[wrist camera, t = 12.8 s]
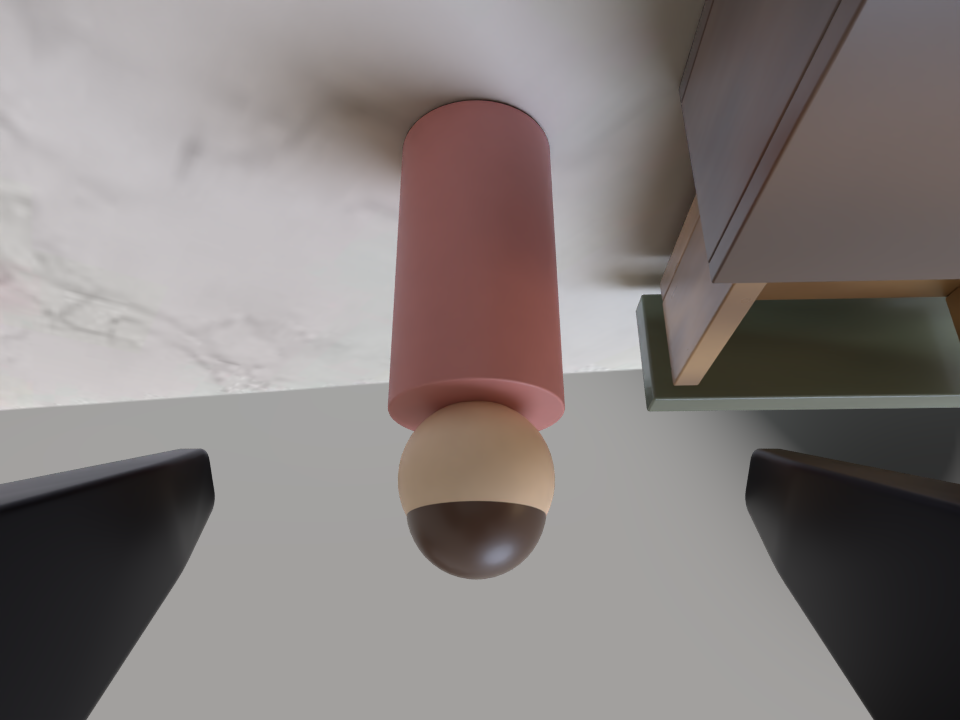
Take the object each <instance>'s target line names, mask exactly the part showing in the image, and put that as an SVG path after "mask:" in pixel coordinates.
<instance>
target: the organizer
mask: <svg viewBox="0 0 960 720" xmlns="http://www.w3.org/2000/svg"><path fill="white" fill-rule="evenodd" d="M679 93H680V99H681V103H682V105H681V106H682V112H683V118H684V124H685V130H686V136H687V142H688V147H689V153H690V159H691V165H692V171H693V177H694V183H695V189H696V195H697V201H698V207H699V213H700V219H701V224H702V230H703V236H704V242H705V248H706V254H707V260H708V263H709V271H710V277H711V282H712V283H713V284H722V283H777V282H832V281H887V280H942V279H960V0H706V1H705V5H704V8H703V11H702V15H701V18H700V21H699V24H698V28H697V31H696V34H695V38H694V41H693V44H692V48H691V51H690V54H689V58H688V61H687V64H686V68H685V71H684V74H683V78H682V81H681V84H680V87H679Z"/></svg>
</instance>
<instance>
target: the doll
mask: <svg viewBox="0 0 960 720" xmlns="http://www.w3.org/2000/svg"><path fill="white" fill-rule="evenodd" d="M564 410H565V404H564V387H563V369H562V352H561V335H560V318H559V301H558V284H557V267H556V250H555V233H554V216H553V199H552V182H551V165H550V149H549V143H548V139H547V137H546V135H545V133H544V131H543V130H542V129H541V127H540V126H539V125H538V124H537V123H536V122H535V121H534V120H533V119H532V118H531V117H529V116H528V115H527V114H525V113H523V112H522V111H520V110H518V109H516V108H513V107H511V106H508V105H505V104H502V103H497V102H492V101H482V100H469V101H460V102H455V103H451V104H447V105H444V106H441V107H439V108H437V109H434V110H432V111H430V112H429V113H427V114H426V115H424V116H423V117H422V118H420V119H419V120H418V121H417V122H416V123H415V124H414V125H413V126H412V128H411V129H410V131H409V132H408V134H407V136H406V138H405V141H404V145H403V155H402V172H401V189H400V207H399V224H398V241H397V259H396V276H395V293H394V311H393V328H392V345H391V363H390V380H389V398H388V411H389V414H390V416H391V417H392V419H393V420H395V421H396V422H397V423H398V424H400V425H402V426H403V427H405V428H408V429H410V430H413V431H414V433H413V434H412V435H411V437H410V439H409V440H408V442H407V444H406V446H405V448H404V451H403V453H402V456H401V460H400V464H399V472H398V489H399V495H400V500H401V503H402V507H403V509H404V511H405V514H406V516H407V521H408V526H409V529H410V533H411V535H412V537H413V539H414V541H415V543H416V545H417V546H418V548H419V550H420V551H421V552H422V553H423V555H424V556H425V557H426V558H427V559H428V560H429V561H430V562H431V563H432V564H434V565H435V566H437V567H438V568H439V569H441V570H443V571H445V572H447V573H449V574H451V575H454V576H457V577H461V578H466V579H486V578H492V577H496V576H499V575H502V574H504V573H506V572H508V571H510V570H512V569H513V568H515V567H516V566H518V565H519V564H520V563H521V562H522V561H524V560H525V559H526V558H527V557H528V556H529V554H530V553H531V552H532V551H533V549H534V548H535V546H536V544H537V543H538V541H539V539H540V536H541V534H542V532H543V528H544V525H545V520H546V515H547V513H548V511H549V508H550V506H551V502H552V499H553V494H554V487H555V474H554V466H553V461H552V457H551V454H550V451H549V449H548V446H547V444H546V443H545V441H544V439H543V437H542V436H541V434H540V433H539V431H540V430H542V429H545V428H547V427H549V426H551V425H553V424H554V423H556V422H557V421H558V420H559V419H560V418H561V417H562V415H563V413H564Z"/></svg>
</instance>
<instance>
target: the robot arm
mask: <svg viewBox="0 0 960 720" xmlns="http://www.w3.org/2000/svg"><path fill="white" fill-rule="evenodd" d="M214 500H215V493H214V486H213V480H212V474H211V467H210V461H209V457H208V454H207V452H206V451H205V450H203V449H178V450H172V451H167V452H162V453H157V454H152V455H147V456H142V457H137V458H132V459H126V460H121V461H116V462H111V463H106V464H101V465H96V466H91V467H86V468H81V469H76V470H71V471H66V472H60V473H55V474H50V475H45V476H40V477H35V478H30V479H25V480H20V481H15V482H9V483H4V484H0V720H86V719H87V718H88V716H89V715H90V713H91V712H92V710H93V709H94V707H95V706H96V704H97V703H98V701H99V700H100V698H101V696H102V695H103V693H104V692H105V690H106V689H107V687H108V686H109V684H110V683H111V681H112V680H113V678H114V677H115V675H116V673H117V672H118V670H119V669H120V667H121V666H122V664H123V663H124V661H125V660H126V658H127V657H128V655H129V653H130V652H131V650H132V649H133V647H134V646H135V644H136V643H137V641H138V640H139V638H140V637H141V635H142V633H143V632H144V630H145V629H146V627H147V626H148V624H149V623H150V621H151V620H152V618H153V616H154V615H155V614H156V612H157V610H158V609H159V607H160V606H161V604H162V603H163V601H164V600H165V598H166V597H167V595H168V593H169V592H170V590H171V589H172V587H173V586H174V584H175V583H176V581H177V579H178V578H179V576H180V575H181V573H182V571H183V569H184V567H185V566H186V564H187V562H188V560H189V558H190V556H191V554H192V552H193V549H194V547H195V545H196V543H197V541H198V539H199V537H200V535H201V533H202V531H203V529H204V526H205V524H206V522H207V520H208V518H209V516H210V514H211V512H212V509H213V506H214ZM745 500H746V506H747V509H748V512H749V514H750V516H751V518H752V520H753V522H754V524H755V527H756V529H757V531H758V533H759V535H760V537H761V539H762V541H763V543H764V545H765V547H766V549H767V552H768V554H769V556H770V558H771V560H772V562H773V564H774V566H775V568H776V569H777V571H778V573H779V575H780V576H781V578H782V579H783V581H784V583H785V584H786V586H787V587H788V589H789V590H790V592H791V594H792V595H793V597H794V598H795V600H796V601H797V603H798V604H799V606H800V607H801V609H802V610H803V612H804V613H805V615H806V617H807V618H808V620H809V621H810V623H811V624H812V626H813V627H814V629H815V630H816V632H817V633H818V635H819V637H820V638H821V640H822V641H823V643H824V644H825V646H826V647H827V649H828V650H829V652H830V653H831V655H832V656H833V658H834V660H835V661H836V663H837V664H838V666H839V667H840V669H841V670H842V672H843V673H844V675H845V676H846V678H847V679H848V681H849V683H850V684H851V686H852V687H853V689H854V690H855V692H856V693H857V695H858V696H859V698H860V699H861V701H862V702H863V704H864V706H865V707H866V709H867V710H868V712H869V713H870V715H871V716H872V718H873V719H874V720H960V484H956V483H951V482H946V481H941V480H936V479H930V478H925V477H920V476H915V475H910V474H905V473H900V472H894V471H890V470H885V469H880V468H874V467H869V466H864V465H859V464H854V463H849V462H844V461H839V460H833V459H828V458H823V457H818V456H813V455H808V454H803V453H798V452H793V451H788V450H783V449H757V450H755V451H754V452H753V454H752V457H751V461H750V467H749V474H748V480H747V486H746V493H745Z"/></svg>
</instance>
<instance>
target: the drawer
mask: <svg viewBox="0 0 960 720" xmlns="http://www.w3.org/2000/svg"><path fill="white" fill-rule="evenodd" d="M660 287H661V294H653V295H642V296H641V299H640V301H639V304H638V307H637V310H636V316H637V325H638V334H639V343H640V352H641V361H642V370H643V379H644V387H645V396H646V405H647V410H648V411H717V410H793V409H868V408H944V407H960V279H942V280H887V281H832V282H777V283H722V284H713V283H712V282H711V277H710V271H709V263H708V260H707V254H706V248H705V242H704V236H703V230H702V224H701V219H700V213H699V207H698V201H697V195H695V197H694V200H693V202H692V205H691V207H690V210H689V212H688V214H687V217H686V219H685V222H684V224H683V227H682V229H681V232H680V234H679V237H678V239H677V242H676V244H675V247H674V249H673V252H672V254H671V257H670V259H669V262H668V264H667V267H666V269H665V272H664V274H663V277H662V279H661V282H660Z"/></svg>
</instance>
